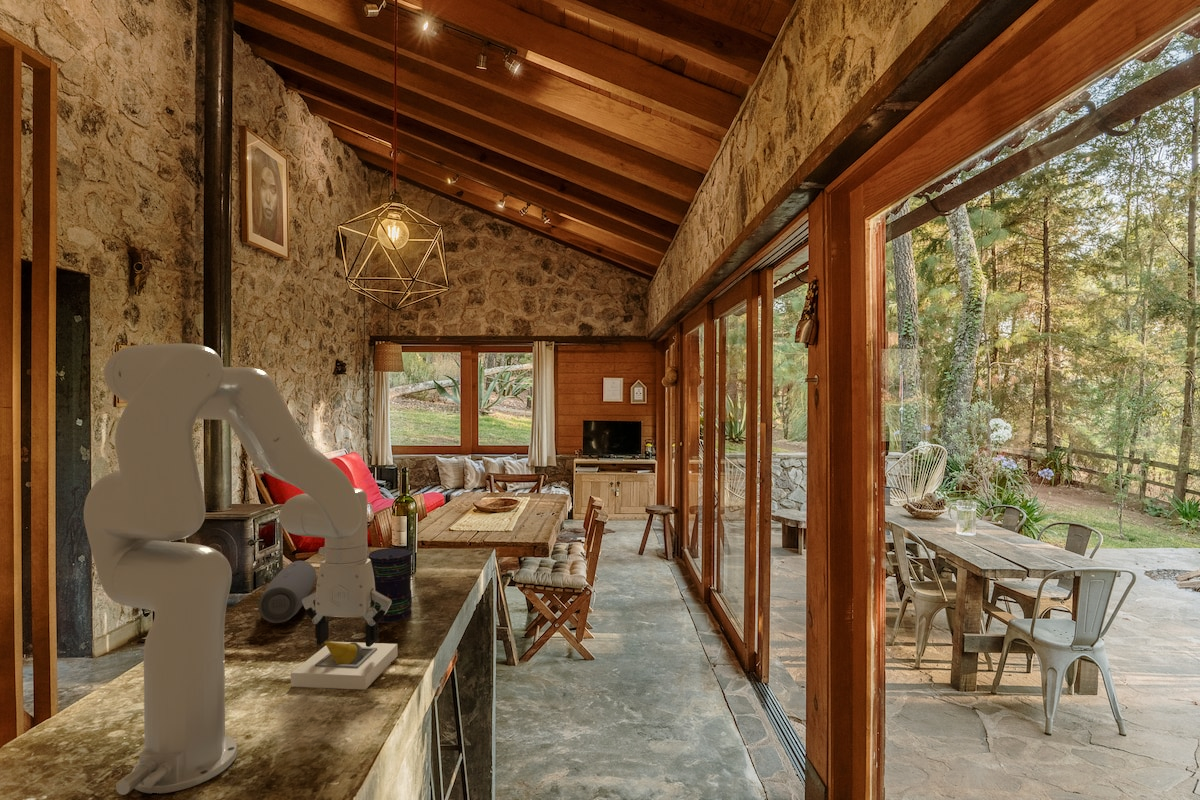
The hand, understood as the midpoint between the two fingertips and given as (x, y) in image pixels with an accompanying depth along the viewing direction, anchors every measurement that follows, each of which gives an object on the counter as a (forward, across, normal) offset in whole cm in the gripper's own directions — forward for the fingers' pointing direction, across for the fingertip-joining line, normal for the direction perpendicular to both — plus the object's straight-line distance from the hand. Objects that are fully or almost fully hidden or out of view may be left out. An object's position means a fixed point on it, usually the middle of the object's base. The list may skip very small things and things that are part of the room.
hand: (346, 643), depth 118 cm
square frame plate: (+5, 0, 0) cm, 5 cm away
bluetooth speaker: (+6, -30, +30) cm, 42 cm away
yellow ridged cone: (+6, 0, 0) cm, 6 cm away
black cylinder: (+6, -4, +29) cm, 30 cm away
